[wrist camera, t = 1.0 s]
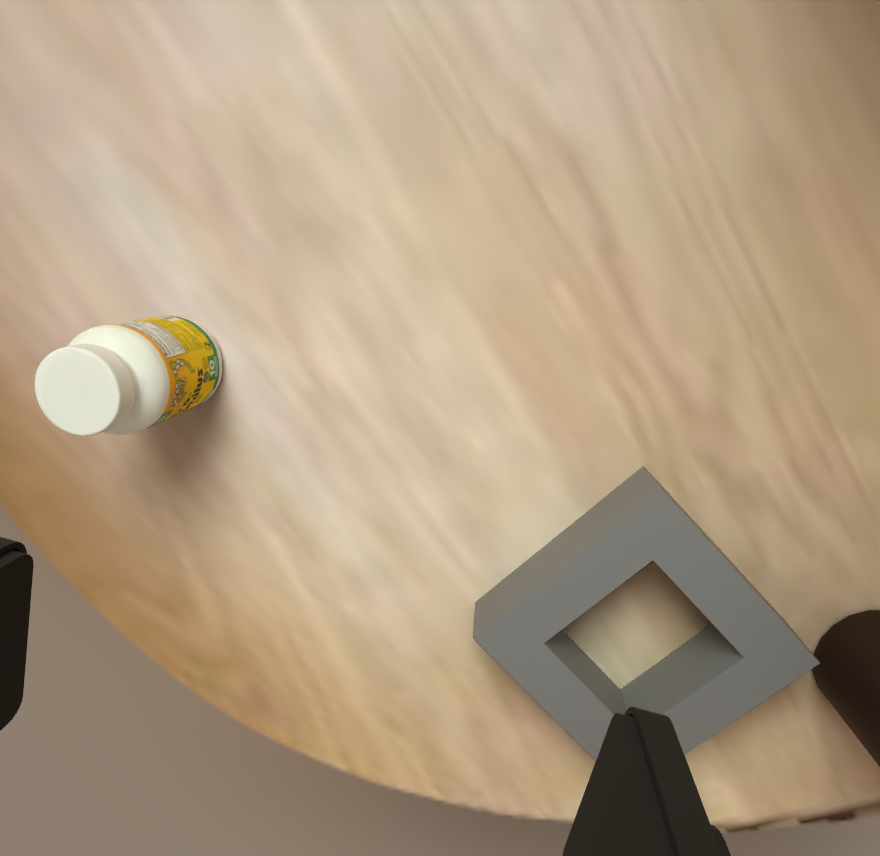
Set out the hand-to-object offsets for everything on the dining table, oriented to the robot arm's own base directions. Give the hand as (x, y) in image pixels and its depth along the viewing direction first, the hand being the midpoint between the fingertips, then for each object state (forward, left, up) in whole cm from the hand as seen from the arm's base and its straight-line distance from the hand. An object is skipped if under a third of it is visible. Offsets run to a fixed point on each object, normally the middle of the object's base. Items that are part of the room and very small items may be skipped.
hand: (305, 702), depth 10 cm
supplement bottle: (+10, -12, -28) cm, 32 cm away
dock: (+1, +17, -27) cm, 32 cm away
